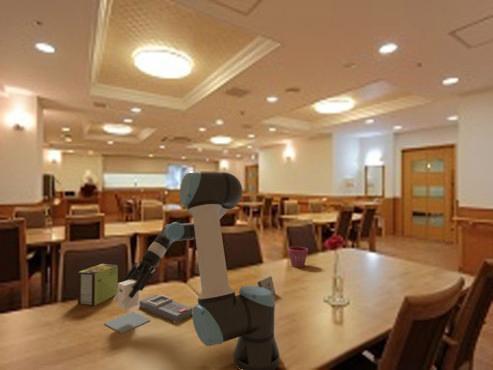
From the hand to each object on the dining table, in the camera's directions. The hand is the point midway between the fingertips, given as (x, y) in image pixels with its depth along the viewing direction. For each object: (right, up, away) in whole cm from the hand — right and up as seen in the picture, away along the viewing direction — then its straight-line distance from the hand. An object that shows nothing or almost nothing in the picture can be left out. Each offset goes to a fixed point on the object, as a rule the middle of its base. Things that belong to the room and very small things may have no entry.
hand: (119, 302), depth 111 cm
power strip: (+14, -10, +14) cm, 22 cm away
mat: (+2, -10, +3) cm, 10 cm away
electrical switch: (+62, -11, +33) cm, 71 cm away
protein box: (-23, -10, +27) cm, 37 cm away
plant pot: (+90, -11, +88) cm, 126 cm away
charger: (+2, -3, +3) cm, 5 cm away
